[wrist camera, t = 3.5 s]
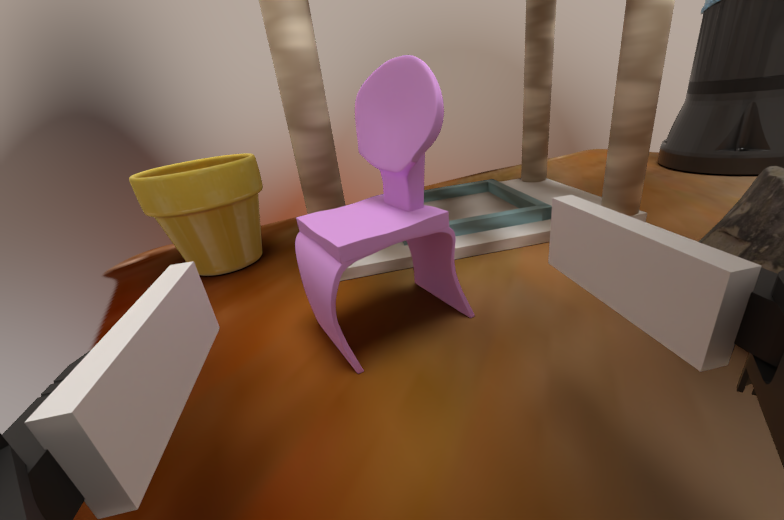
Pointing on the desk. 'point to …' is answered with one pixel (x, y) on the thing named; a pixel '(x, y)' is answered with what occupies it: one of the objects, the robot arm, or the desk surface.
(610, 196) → the canopy shelf
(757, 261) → the fossil
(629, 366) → the desk surface
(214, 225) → the plant pot
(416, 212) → the toy chair
